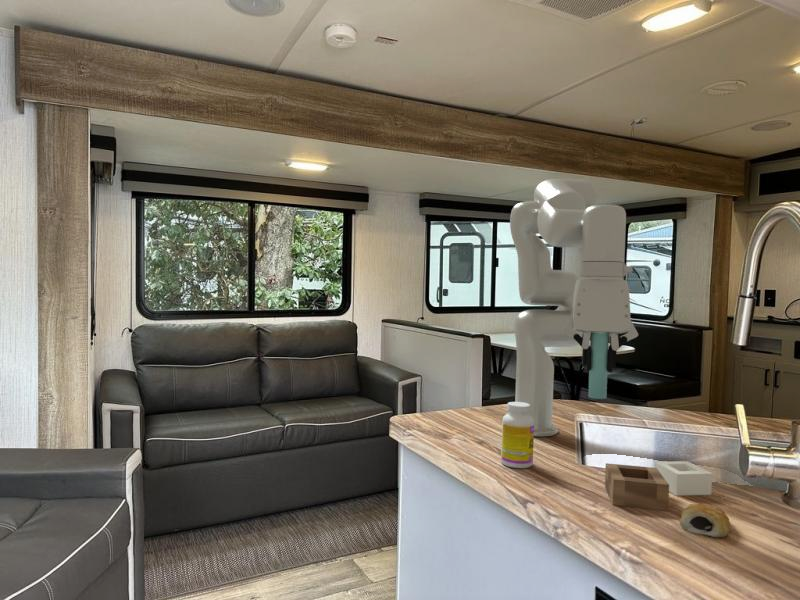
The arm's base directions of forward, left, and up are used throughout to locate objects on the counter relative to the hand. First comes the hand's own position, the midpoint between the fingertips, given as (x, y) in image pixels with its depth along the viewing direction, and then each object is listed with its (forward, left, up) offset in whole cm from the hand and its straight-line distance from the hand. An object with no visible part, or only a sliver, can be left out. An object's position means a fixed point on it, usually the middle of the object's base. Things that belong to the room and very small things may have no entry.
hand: (598, 369), depth 104 cm
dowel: (0, 0, -5) cm, 5 cm away
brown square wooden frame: (+3, +7, -23) cm, 24 cm away
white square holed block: (-5, +17, -23) cm, 29 cm away
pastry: (+13, +15, -23) cm, 30 cm away
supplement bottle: (-10, -14, -23) cm, 29 cm away
